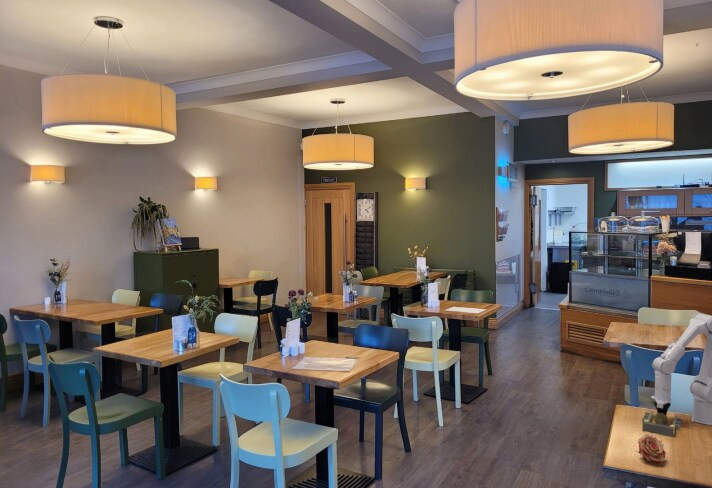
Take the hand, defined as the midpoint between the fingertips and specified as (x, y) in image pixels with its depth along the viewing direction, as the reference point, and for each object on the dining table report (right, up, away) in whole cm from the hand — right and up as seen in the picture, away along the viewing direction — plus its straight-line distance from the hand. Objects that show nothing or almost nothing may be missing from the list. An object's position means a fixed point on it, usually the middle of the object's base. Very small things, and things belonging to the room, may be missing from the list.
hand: (661, 420), depth 219 cm
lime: (-2, -2, -2) cm, 3 cm away
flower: (-22, -4, -33) cm, 40 cm away
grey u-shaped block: (-2, -1, -2) cm, 3 cm away
